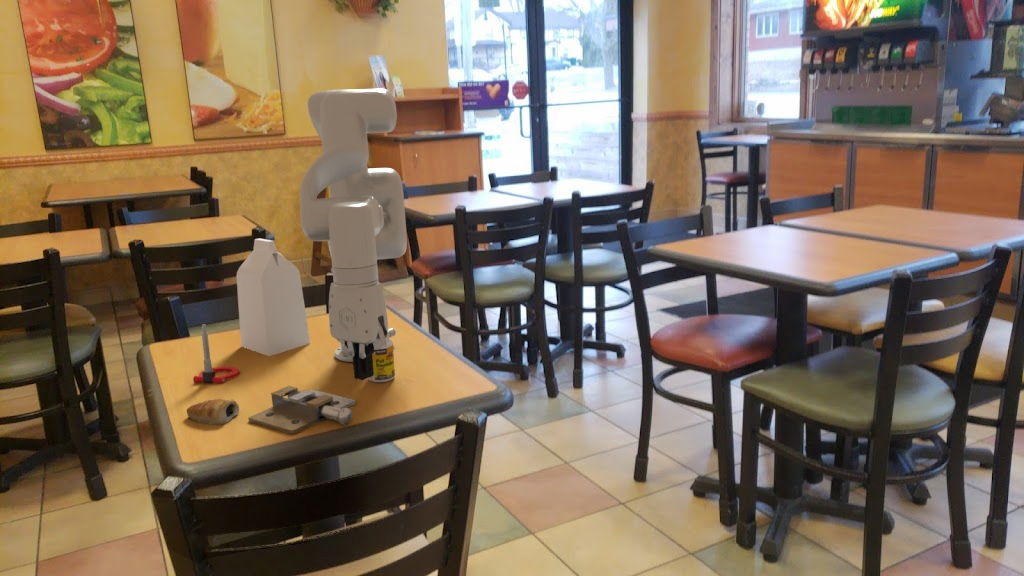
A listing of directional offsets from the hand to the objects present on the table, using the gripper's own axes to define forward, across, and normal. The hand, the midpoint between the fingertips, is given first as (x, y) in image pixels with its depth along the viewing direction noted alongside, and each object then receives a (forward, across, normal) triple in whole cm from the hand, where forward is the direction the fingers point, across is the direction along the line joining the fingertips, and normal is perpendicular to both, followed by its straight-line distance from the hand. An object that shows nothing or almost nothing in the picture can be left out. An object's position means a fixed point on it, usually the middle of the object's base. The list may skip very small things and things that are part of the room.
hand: (364, 377), depth 138 cm
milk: (+9, -55, +27) cm, 62 cm away
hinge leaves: (+10, -17, +1) cm, 20 cm away
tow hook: (+10, -49, +6) cm, 51 cm away
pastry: (+10, -31, -9) cm, 34 cm away
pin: (+10, -13, +1) cm, 16 cm away
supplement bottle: (+10, -16, +22) cm, 29 cm away
